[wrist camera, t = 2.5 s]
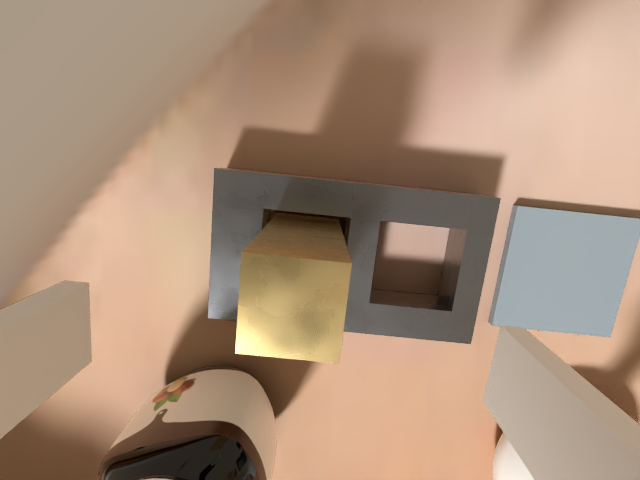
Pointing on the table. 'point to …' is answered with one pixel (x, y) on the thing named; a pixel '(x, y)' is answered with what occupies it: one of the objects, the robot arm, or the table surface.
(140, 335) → the table surface
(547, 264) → the slate pad
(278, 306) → the brass peg
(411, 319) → the steel socket block
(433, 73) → the table surface
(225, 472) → the spread jar
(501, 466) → the flower in vase
